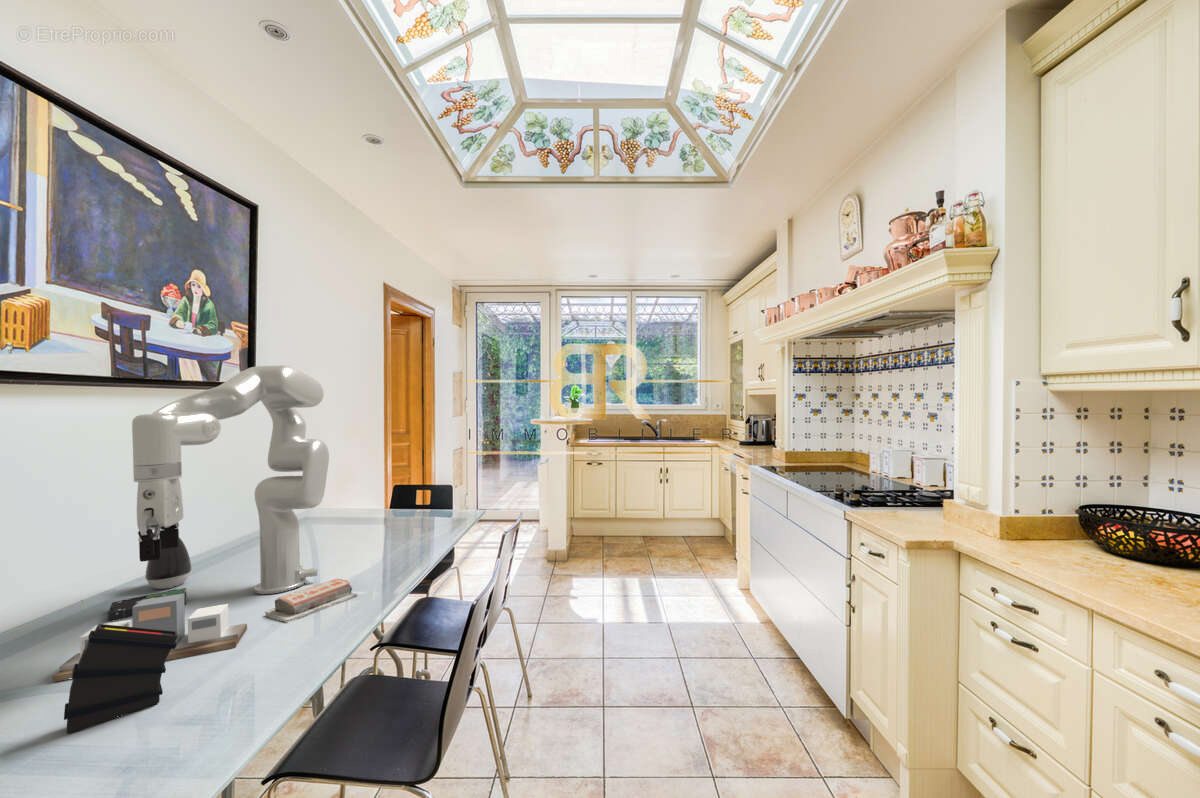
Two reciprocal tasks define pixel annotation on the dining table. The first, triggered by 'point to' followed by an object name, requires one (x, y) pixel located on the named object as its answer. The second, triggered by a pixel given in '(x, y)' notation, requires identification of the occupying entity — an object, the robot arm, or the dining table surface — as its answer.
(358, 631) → the dining table surface
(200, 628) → the block
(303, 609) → the packaged product
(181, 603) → the block
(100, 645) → the black ridged block
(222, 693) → the dining table surface
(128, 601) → the disk drive
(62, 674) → the rail board
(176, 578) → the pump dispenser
